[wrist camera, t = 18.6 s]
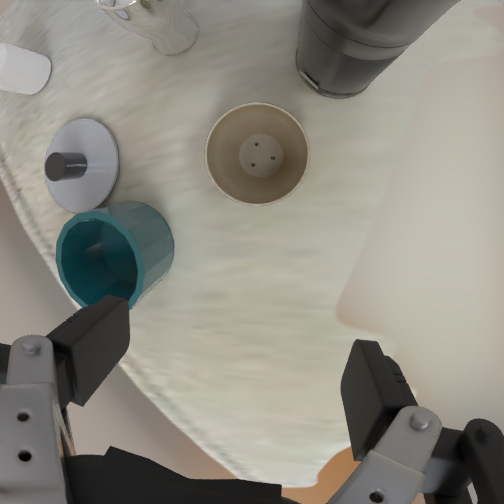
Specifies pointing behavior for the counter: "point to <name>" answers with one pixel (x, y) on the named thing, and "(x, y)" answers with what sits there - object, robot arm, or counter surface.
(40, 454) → the robot arm
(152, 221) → the canister
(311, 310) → the counter surface
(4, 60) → the can
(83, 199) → the lid
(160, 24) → the beer glass
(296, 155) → the flower pot
